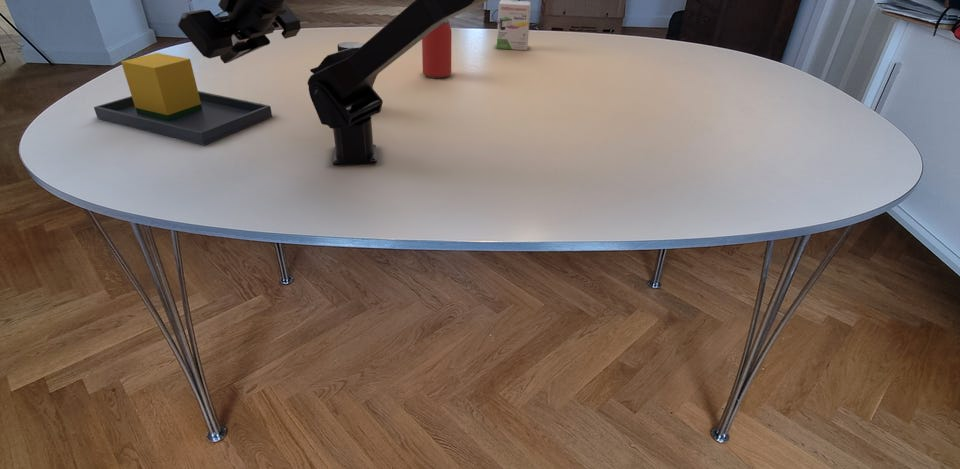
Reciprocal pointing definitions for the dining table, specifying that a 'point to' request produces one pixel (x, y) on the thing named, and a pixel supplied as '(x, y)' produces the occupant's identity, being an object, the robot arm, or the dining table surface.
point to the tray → (191, 118)
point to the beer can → (437, 52)
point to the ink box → (513, 24)
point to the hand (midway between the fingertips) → (224, 60)
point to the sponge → (162, 86)
